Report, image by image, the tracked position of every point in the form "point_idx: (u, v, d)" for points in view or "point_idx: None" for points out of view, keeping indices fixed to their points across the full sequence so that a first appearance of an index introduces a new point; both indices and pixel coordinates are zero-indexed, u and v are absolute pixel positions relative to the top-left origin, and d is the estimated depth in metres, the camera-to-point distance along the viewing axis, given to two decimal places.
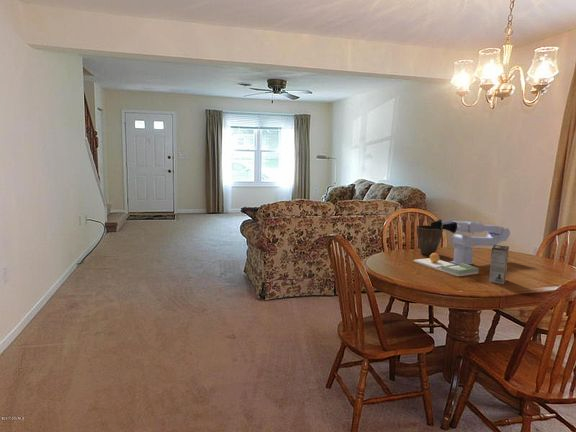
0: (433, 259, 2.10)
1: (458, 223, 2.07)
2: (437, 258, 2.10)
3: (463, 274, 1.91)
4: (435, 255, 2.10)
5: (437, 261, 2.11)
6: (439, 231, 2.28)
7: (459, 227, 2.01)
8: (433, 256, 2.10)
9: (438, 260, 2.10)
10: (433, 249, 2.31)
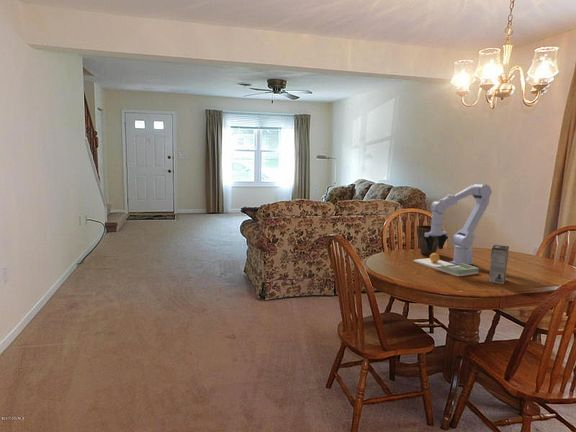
0: (433, 259, 2.10)
1: (431, 225, 2.10)
2: (437, 258, 2.10)
3: (463, 274, 1.91)
4: (435, 255, 2.10)
5: (437, 261, 2.11)
6: None
7: (425, 235, 2.08)
8: (433, 256, 2.10)
9: (438, 260, 2.10)
10: (433, 249, 2.31)
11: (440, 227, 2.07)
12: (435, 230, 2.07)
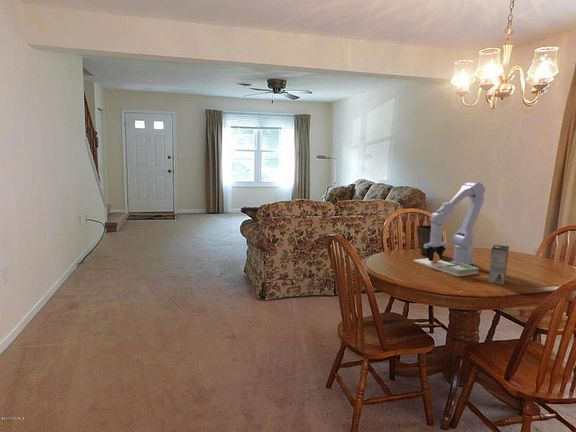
0: (433, 259, 2.10)
1: (430, 236, 2.11)
2: (437, 258, 2.10)
3: (463, 274, 1.91)
4: (435, 255, 2.10)
5: (437, 261, 2.11)
6: None
7: (424, 246, 2.08)
8: (433, 256, 2.10)
9: (438, 260, 2.10)
10: None
11: (439, 238, 2.08)
12: (434, 241, 2.08)
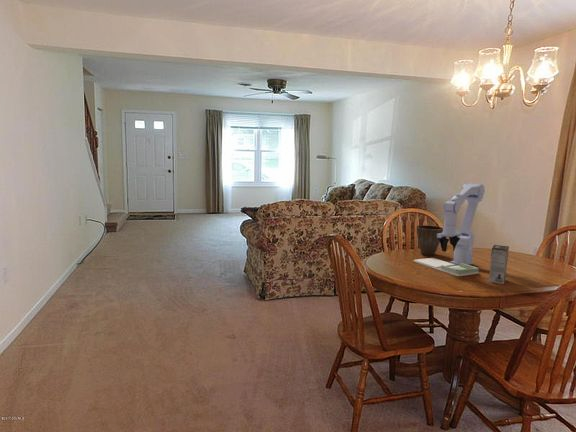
0: (447, 249, 2.01)
1: None
2: (451, 248, 2.01)
3: (463, 274, 1.91)
4: (449, 245, 2.01)
5: None
6: (439, 231, 2.28)
7: (437, 236, 2.00)
8: (447, 246, 2.01)
9: None
10: (433, 249, 2.31)
11: (453, 228, 1.99)
12: (448, 231, 1.99)
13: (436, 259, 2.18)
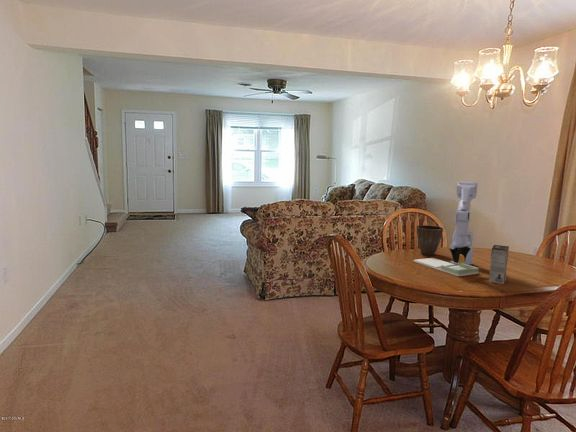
0: (459, 260, 1.95)
1: (455, 236, 1.96)
2: (463, 259, 1.95)
3: (463, 274, 1.91)
4: (460, 256, 1.95)
5: (462, 262, 1.96)
6: (439, 231, 2.28)
7: (450, 247, 1.93)
8: None
9: (463, 261, 1.96)
10: (433, 249, 2.31)
11: (465, 238, 1.93)
12: (460, 241, 1.93)
13: (436, 259, 2.18)
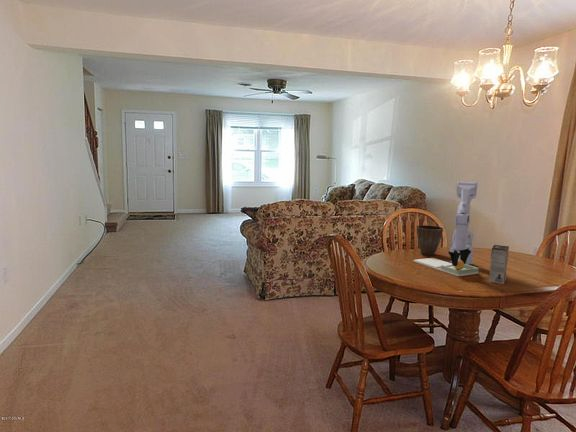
0: (458, 266, 1.95)
1: (454, 239, 1.96)
2: (462, 265, 1.95)
3: (463, 274, 1.91)
4: (460, 262, 1.95)
5: (462, 268, 1.97)
6: (439, 231, 2.28)
7: (450, 250, 1.93)
8: (458, 263, 1.95)
9: None
10: (433, 249, 2.31)
11: (465, 241, 1.93)
12: (460, 244, 1.93)
13: (436, 259, 2.18)
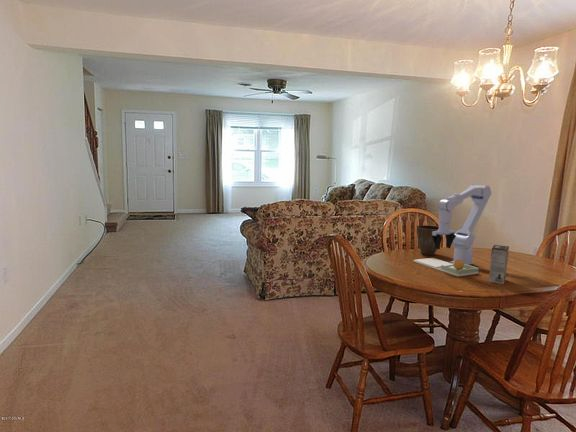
0: (458, 266, 1.95)
1: None
2: (462, 265, 1.95)
3: (463, 274, 1.91)
4: (460, 262, 1.96)
5: (462, 268, 1.97)
6: None
7: (433, 234, 2.04)
8: (458, 263, 1.95)
9: (463, 267, 1.96)
10: (433, 249, 2.31)
11: (448, 226, 2.03)
12: (443, 229, 2.04)
13: (436, 259, 2.18)
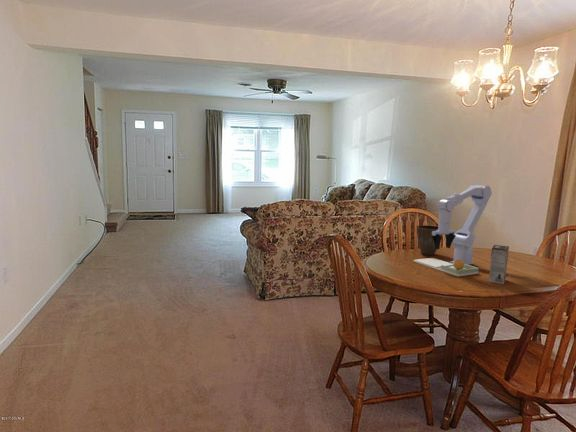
0: (458, 266, 1.95)
1: None
2: (462, 265, 1.95)
3: (463, 274, 1.91)
4: (460, 262, 1.96)
5: (462, 268, 1.97)
6: None
7: (432, 234, 2.04)
8: (458, 263, 1.95)
9: (463, 267, 1.96)
10: (433, 249, 2.31)
11: (448, 225, 2.04)
12: (443, 229, 2.04)
13: (436, 259, 2.18)
